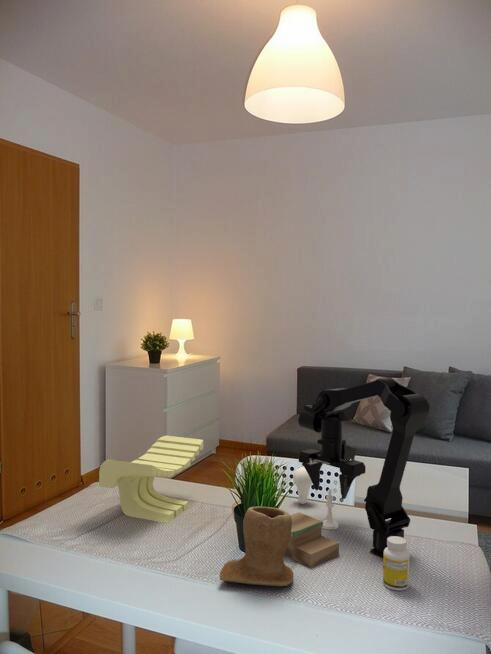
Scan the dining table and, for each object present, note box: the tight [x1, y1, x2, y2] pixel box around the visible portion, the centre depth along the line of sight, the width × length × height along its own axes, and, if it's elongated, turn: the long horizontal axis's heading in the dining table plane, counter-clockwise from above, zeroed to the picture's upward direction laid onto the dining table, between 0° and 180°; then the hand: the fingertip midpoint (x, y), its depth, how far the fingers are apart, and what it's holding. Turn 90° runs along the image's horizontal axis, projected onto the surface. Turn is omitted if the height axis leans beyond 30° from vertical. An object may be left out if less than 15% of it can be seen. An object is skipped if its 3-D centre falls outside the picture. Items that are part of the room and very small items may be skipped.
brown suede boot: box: [219, 506, 295, 587], centre depth 123 cm, size 15×12×15 cm
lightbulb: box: [292, 466, 313, 505], centre depth 169 cm, size 6×6×11 cm
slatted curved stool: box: [98, 435, 204, 524], centre depth 162 cm, size 30×16×18 cm, turn 159°
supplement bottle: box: [382, 536, 411, 591], centre depth 121 cm, size 5×5×10 cm
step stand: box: [284, 512, 340, 568], centre depth 136 cm, size 13×10×6 cm
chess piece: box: [322, 488, 340, 531], centre depth 153 cm, size 5×5×10 cm
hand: (330, 494), depth 152 cm, fingers open, 9 cm apart
